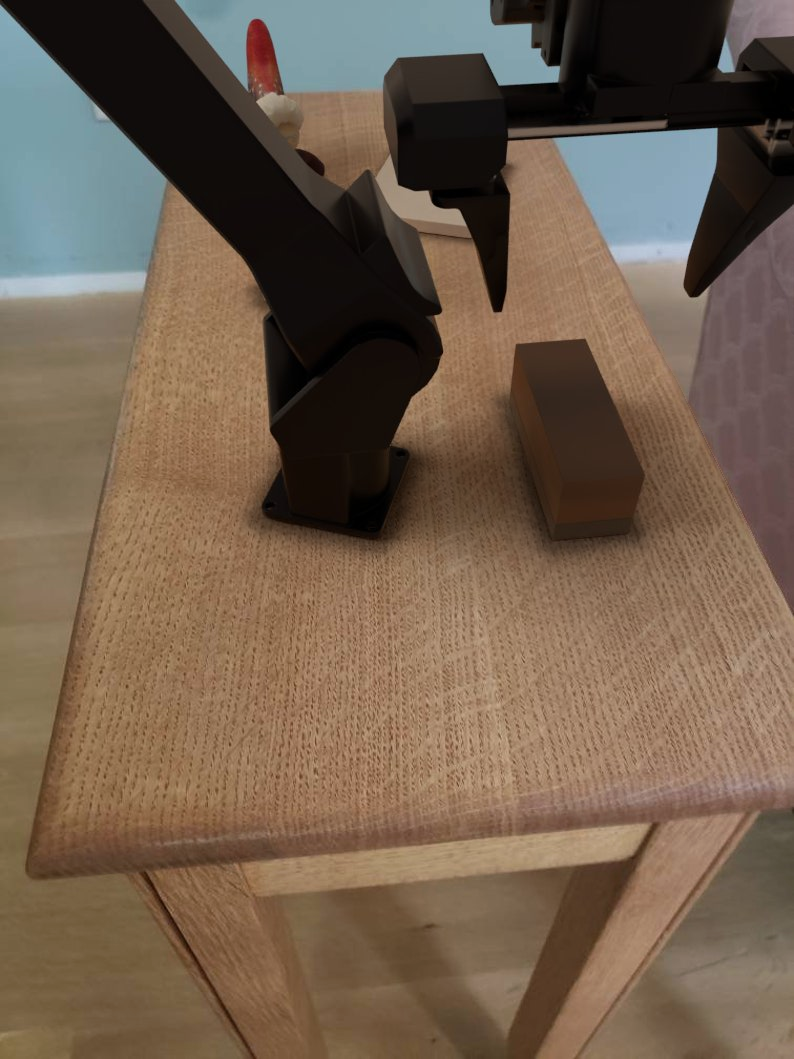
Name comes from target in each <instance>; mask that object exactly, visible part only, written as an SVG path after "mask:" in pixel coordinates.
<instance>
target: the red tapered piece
mask: <svg viewBox="0 0 794 1059" xmlns="http://www.w3.org/2000/svg"><path fill="white" fill-rule="evenodd" d="M245 51H246V52H245V53H246V55H245V57H246V75H247V76H246V80H247V91H248V92H249V93H250V95H251V96H252V97H253V98H254V100H255V101H257V100H259V99H260V98H262V97H264V96H266V95H267V94H269V93H271V92H274V93H276V94H277V95H278V96H279V95H285V90H284V85H283V81H282V77H281V73H280V69H279V65H278V60H277V54H276V51H275V46H274V42H273V39H272V36H271V34H270V31H269V28H268V26H267V24H266V23H265V22H264V21H263V20H262V19H261V18H253V19H251V21H250V22H249V24H248V26H247V30H246V42H245Z"/></svg>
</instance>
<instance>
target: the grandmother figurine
mask: <svg viewBox="0 0 794 1059" xmlns="http://www.w3.org/2000/svg"><path fill="white" fill-rule="evenodd" d="M256 102H257V103H258V105H259V106H260V107H261V108H262V110H263V111H264V112H265V113H266V115H267V116H268V117H269V118H270V120H271V121H272V122H273V123H274V125H275V126H276V127H277V128H278V130H279V131H280V132H281V133H282V135H283V136H284V137H285V138H286V140H287V141H288V142H289V143H290V145H291V146H292V147H293V148H294V150H295V151H296V152H297V153H298V155H299V156H300V157H301V158H302V160H303V161H304V162H305V163H306V164H307V165H308V166H309V167H310V168H311V169H312V170H313V171H315V172H316V173H317V174H319V175H320V176H322V177H324V178H326V179H327V180H329V181H331V180H330V179H329V176H328V174H327V172H326V166H325V163H323V162H322V160H320V159H319V157H318V156H317V155H315V154H313V153H312V152H310V151H307V150H306V149H302V148H298V145H299V142H300V137H301V136H300V135H301V134H300V130H301V129H302V126H303V123H305V122H304V121H305V116H304V112H303V111H302V109H301V107H300V105H299V104H298V102H296V101H295V100H293V99H291V98H289V97H288V96H287V95H285V94H284V95H279V96H278V95H277V94H276V93H274V92H271V93H269V94H267V95H266V96H264V97H262V98H260V99H259V100H257V101H256ZM260 293H261V295H262V298H263V300H264V302H266V300H265V298H264V296H263V294H262V292H261V291H260Z"/></svg>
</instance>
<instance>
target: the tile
mask: <svg viewBox="0 0 794 1059" xmlns="http://www.w3.org/2000/svg"><path fill="white" fill-rule="evenodd" d="M375 179H376V181H377V183H378V185H379V187H380V189H381V191H382V193H383V195H384V197H385V199H386V201H387V203H388V204H389V206H390V208H391V209H392V210H393V211H394V212H395V213H396V214H397V215H398V216H399V217H400V218H401V219H402V220H403V221H404V222H406V223H408V224H410V225H412V226H413V227H415V228H417V230H418V233H425V234H433V235H440V236H441V235H442V236H449V237H457V238H463V239H472V236H471V234H470V232H469V230H468V228H467V225H466V223H465V221H464V219H463V217H462V214H461V212H460V211H459V210H458V209H442V208H438V207H436V206H434V205H433V204H432V202H431V199H430V196H429V192H428V191H412V190H409V189H407V188H404V187H401V186H399V185H398V183H397V179H396V175H395V171H394V167H393V163H392V159H391V154H389V155H388V157H387V158H386V160H385V162H384V163H383V165H382V166H381V168H380V170H379V171H378V173H377V175H376V177H375Z"/></svg>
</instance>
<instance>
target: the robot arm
mask: <svg viewBox="0 0 794 1059" xmlns="http://www.w3.org/2000/svg"><path fill="white" fill-rule="evenodd" d="M735 1H736V0H489V14H490V15H489V17H490V20H491V24H492V25H494V26H513V25H530V24H531V27H530V28H531V29H530V30H531V34H530V38H531V40H530V48H531V49H532V50H534V49H536V50H537V49H538V50H539V49H540V57H541V59H542V60H543V62H544V64H545V65H546V67H548V68H549V67H551V68H552V67H559V71H558V80H557V81H552V82H551V81H550V82H534V83H516V84H499V83H498V80H497V79H496V76H495V74H494V72H493V70H492V68H491V66H490V64H489V63H488V60H487V58H486V56H485V54H484V52H476V53H475V52H474V53H458V54H444V55H443V54H442V55H441V54H439V55H438V54H437V55H420V56H404V57H403V56H402V57H397V58H396V59H395V60H394V62H393V63H392V64H391V66H390V67H389V69H388V70H387V72H386V73H385V74H384V76H383V83H382V104H383V105H382V108H383V109H382V110H383V113H382V114H383V116H382V117H383V130H384V134H385V139H386V142H387V146H388V150H389V153H390V154H391V159H392V163H393V167H394V171H395V175H396V179H397V183H398V185H399V186H401V187H404V188H407V189H409V190H412V191H428V192H429V196H430V199H431V202H432V204H433V205H434V206H436V207H438V208H442V209H458V210H459V211H460V212H461V214H462V217H463V219H464V221H465V223H466V225H467V228H468V230H469V232H470V234H471V236H472V238H471V239H472V241H473V244H474V245H473V246H474V250H475V253H476V256H477V260H478V263H479V267H480V270H481V275H482V279H483V283H484V286H485V289H486V294H487V297H488V301H489V304H490V306H491V310H492V312H493V313H494V314H497V313H498V314H499V313H502V312H503V310H504V306H505V301H506V297H507V292H508V275H509V274H508V272H509V249H510V248H509V246H510V245H509V244H510V221H511V220H510V217H511V191H510V190H509V187H508V184H507V183H506V180H505V177H504V175H503V173H502V171H501V170H503V169H504V167H506V166H507V156H508V145H509V142H514V141H531V140H532V141H533V140H547V139H549V140H550V139H562V138H563V139H564V138H578V137H579V138H580V137H581V138H583V137H595V136H596V137H598V136H611V135H627V134H645V133H661V132H678V131H693V130H708V129H709V130H710V129H711V130H712V129H717V130H716V132H717V134H716V163H715V168H714V172H713V175H712V178H711V181H710V184H709V188H708V191H707V194H706V198H705V201H704V204H703V207H702V211H701V214H700V217H699V220H698V222H697V226H696V229H695V233H694V236H693V239H692V242H691V246H690V249H689V253H688V256H687V259H686V260H687V261H686V266H685V271H684V278H683V283H682V286H683V289H684V292H685V293H686V294H687V296H688V297H689V299H695V298H699V297H700V296H701V295H703V293H704V292H705V291H706V290H707V289H708V288H709V287H710V286H711V285H712V284H713V283H714V282H715V281H716V280H717V279H718V278H719V277H720V276H721V275H722V274H723V273H724V272H725V271H726V270H727V268H729V267H730V266H731V265H732V263H733V262H735V261H736V260H737V258H738V257H739V256H740V255H741V254H742V253H743V252H744V251H745V250H746V249H748V247H749V246H750V245H751V244H752V243H753V242H754V241H755V240H756V239H757V238H758V237H759V236H760V235H761V234H762V233H764V231H766V229H768V228H769V227H770V226H771V225H773V223H775V222H776V221H777V220H778V219H779V218H780V217H782V216H783V215H784V214H785V213H786V212H787V211H789V209H791V208H793V206H794V35H789V36H788V35H787V36H769V37H755V38H753V39H752V40H751V42H750V43H749V44H748V45H747V46H745V47H744V49H743V50H742V51H741V52H740V53H739V55H738V59H737V63H736V66H735V70H734V71H728V72H727V71H725V72H723V71H722V70H721V69H720V68H719V64H720V61H721V56H722V53H723V49H724V48H723V47H724V44H725V40H726V36H727V32H728V28H729V25H730V22H731V18H732V17H731V16H732V12H733V8H734V6H735ZM0 7H2V8H3V10H5V11H6V13H7V14H8V15H9V16H10V17H11V18H12V19H13V20H14V21H15V22H16V23H17V24H18V25H19V26H20V27H21V28H22V29H23V31H25V33H27V35H28V36H29V37H30V38H32V40H33V41H34V42H35V43H36V44H37V45H38V46H39V47H40V48H41V50H43V51H44V52H45V54H46V55H47V56H48V57H49V58H50V59H52V61H53V62H54V63H55V64H56V65H57V66H58V67H59V68H60V69H61V70H62V71H63V72H64V74H66V75H67V76H68V77H69V78H70V80H72V81H73V83H74V84H75V85H76V86H77V87H78V88H79V89H80V90H81V91H82V92H83V93H84V94H85V95H86V96H87V98H89V99H90V101H92V103H93V104H94V105H95V106H96V107H97V108H98V109H99V110H100V111H101V112H102V113H103V115H105V116H106V117H107V118H108V119H109V121H111V123H113V125H114V126H115V127H116V128H117V129H118V130H119V131H120V132H121V133H122V134H123V135H124V136H125V137H126V138H127V140H129V141H130V143H132V145H134V147H135V148H136V149H137V150H138V151H139V152H140V153H141V154H142V155H143V156H144V157H145V158H146V159H147V160H148V161H149V162H150V163H151V165H152V166H154V168H155V169H156V170H157V171H158V172H159V173H160V174H161V175H162V176H163V177H164V178H165V179H166V180H167V181H168V182H169V183H170V184H171V185H172V186H173V188H174V189H176V191H177V192H179V194H180V195H181V196H182V197H183V198H184V199H185V200H186V201H187V202H188V203H189V204H190V206H192V207H193V208H194V209H195V210H196V212H198V213H199V215H200V216H201V217H202V218H203V219H204V220H205V221H207V223H208V224H209V225H210V226H211V227H212V228H213V229H214V230H215V231H216V232H217V234H219V236H220V237H222V239H223V240H224V241H225V242H226V243H227V244H228V245H229V246H230V247H231V248H232V249H233V251H235V252H236V254H238V256H240V257H241V259H242V260H243V261H244V263H245V264H246V266H247V268H248V269H249V271H250V272H251V274H252V276H253V278H254V281H255V282H256V284H257V286H258V288H259V290H260V293H261V292H262V293H261V295H262V294H263V295H262V297H263V296H264V298H265V300H266V301H265V300H264V301H265V303H266V304H267V306H268V308H269V311H268V312H267V313H266V314H265V315H264V316H263V317H262V336H263V337H262V338H263V349H264V350H263V351H264V365H265V379H266V393H267V408H268V410H267V412H268V425H269V433H270V435H271V436H272V438H273V439H274V440H275V442H276V443H277V447H278V453H279V459H280V466H281V467H280V469H279V470H278V472H277V474H276V476H275V478H274V480H273V482H272V484H271V486H270V487H269V490H268V492H267V493H266V495H265V497H264V499H263V501H262V503H261V505H260V507H261V513H262V515H263V516H264V517H266V518H267V519H273V520H277V521H283V522H288V523H293V524H296V525H302V526H307V527H312V528H316V529H321V530H327V531H330V532H331V531H332V532H336V533H341V534H346V535H351V536H356V537H359V538H360V537H361V538H366V539H372V540H373V539H377V538H379V537H381V535H382V534H383V531H384V529H385V526H386V524H387V521H388V518H389V516H390V513H391V511H392V508H393V506H394V503H395V501H396V497H397V495H398V493H399V490H400V487H401V485H402V482H403V480H404V476H405V475H406V471H407V469H408V467H409V464H410V461H411V453H410V451H409V450H408V449H406V448H404V447H400V446H393V445H392V442H393V440H394V438H395V436H396V433H397V431H398V430H399V427H400V425H401V422H402V420H403V418H404V416H405V413H406V411H407V409H408V407H409V405H410V402H411V400H412V398H414V396H416V395H417V394H418V393H419V392H420V391H422V390H423V389H424V388H425V387H427V386H428V384H429V383H430V382H431V380H432V379H433V377H434V376H435V374H436V373H437V371H438V369H439V366H440V362H441V359H442V357H443V355H444V346H443V340H442V337H441V333H440V330H439V327H438V322H437V320H436V316H439V315H441V314H442V313H443V307H442V304H441V300H440V298H439V294H438V291H437V288H436V285H435V281H434V278H433V275H432V272H431V269H430V266H429V262H428V259H427V256H426V252H425V249H424V246H423V243H422V240H421V237H420V232H418V230H417V228H415V227H413V226H412V225H410V224H408V223H406V222H404V221H403V220H402V219H401V218H400V217H399V216H398V215H397V214H396V213H395V212H394V211H393V210H392V209H391V208H390V206H389V204H388V203H387V201H386V199H385V197H384V195H383V193H382V191H381V189H380V187H379V185H378V183H377V181H376V179H375V178H376V177H375V175H374V174H373V172H372V171H371V169H365V170H364V171H363V172H362V173H361V174H360V175H359V176H358V177H357V178H356V179H355V180H354V181H353V182H352V183H351V185H349V186H348V187H347V189H346V188H344V187H342V186H340V185H338V184H336V183H334V182H333V181H332V180H330V179H328V180H327V179H326V178H324V177H322V176H320V175H319V174H317V173H316V172H315V171H313V170H312V169H311V168H310V167H309V166H308V165H307V164H306V163H305V162H304V161H303V160H302V158H301V157H300V156H299V155H298V153H297V152H296V151H295V150H294V148H293V147H292V146H291V145H290V143H289V142H288V141H287V140H286V138H285V137H284V136H283V135H282V133H281V132H280V131H279V130H278V128H277V127H276V126H275V125H274V123H273V122H272V121H271V120H270V118H269V117H268V116H267V115H266V113H265V112H264V111H263V110H262V108H261V107H260V106H259V105H258V103H257V102H256V101H255V100H254V98H253V97H252V96H251V95H250V93H249V92H248V89H247V88H246V87H245V86H244V85H243V83H242V82H241V81H240V80H239V78H238V77H237V76H236V75H235V73H234V72H233V71H232V69H231V68H230V67H229V65H228V64H226V62H225V61H224V60H223V58H222V57H221V55H219V53H218V52H217V51H216V50H215V48H214V47H213V46H212V45H211V44H210V42H209V41H208V39H206V37H205V36H204V35H203V34H202V32H201V31H200V30H199V28H198V26H196V25H195V24H194V22H193V21H192V20H191V18H190V17H189V16H188V15H187V13H186V12H185V11H184V10H183V9H182V7H181V6H180V5H179V3H178V2H177V1H176V0H0ZM390 154H389V155H390ZM329 180H330V181H329ZM264 298H263V299H264ZM371 528H372V529H371Z"/></svg>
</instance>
